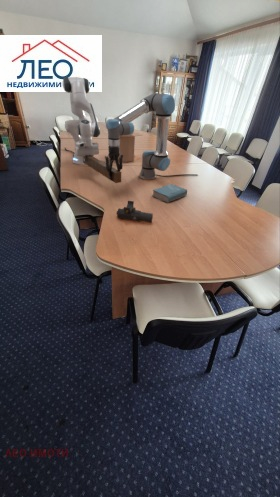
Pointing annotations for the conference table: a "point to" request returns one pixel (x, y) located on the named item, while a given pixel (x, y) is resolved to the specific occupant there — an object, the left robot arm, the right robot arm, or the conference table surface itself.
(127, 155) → the box
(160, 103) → the right robot arm
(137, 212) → the laser sight
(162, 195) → the book
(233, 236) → the conference table surface
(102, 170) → the bar
